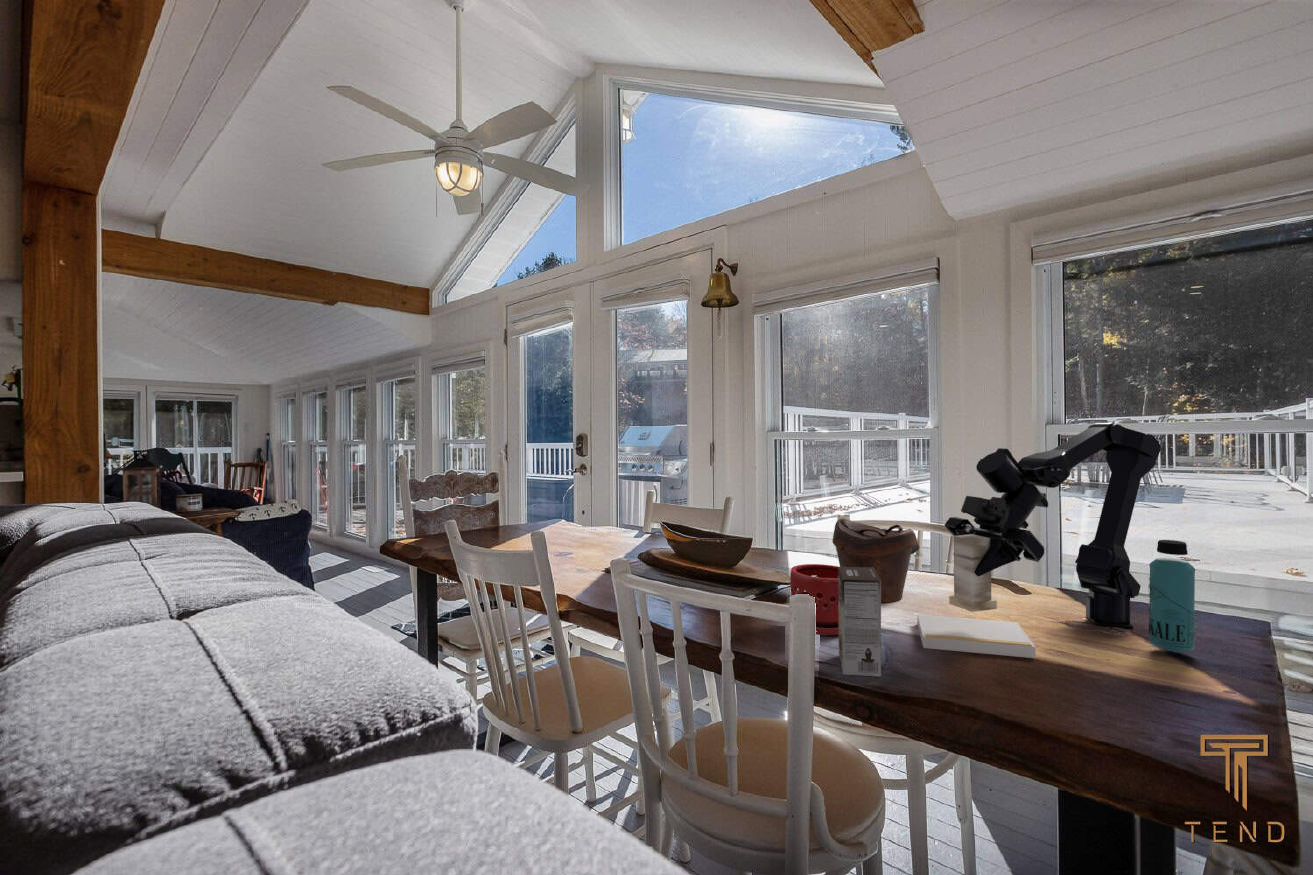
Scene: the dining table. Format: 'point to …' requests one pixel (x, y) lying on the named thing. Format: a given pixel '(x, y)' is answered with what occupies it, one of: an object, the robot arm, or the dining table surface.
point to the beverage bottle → (1172, 599)
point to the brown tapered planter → (877, 553)
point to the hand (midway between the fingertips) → (966, 571)
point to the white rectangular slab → (974, 636)
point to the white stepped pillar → (971, 574)
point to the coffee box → (859, 621)
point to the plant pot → (819, 593)
